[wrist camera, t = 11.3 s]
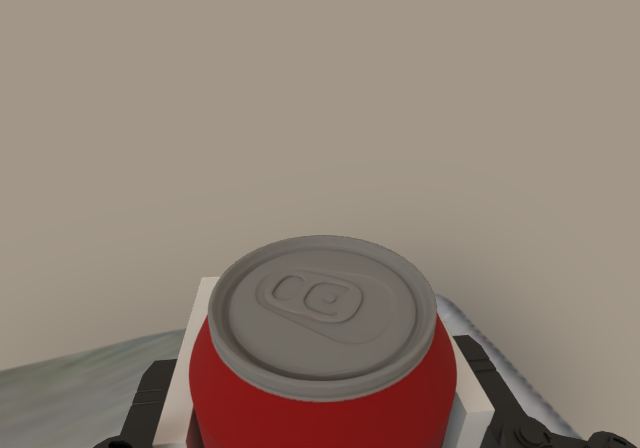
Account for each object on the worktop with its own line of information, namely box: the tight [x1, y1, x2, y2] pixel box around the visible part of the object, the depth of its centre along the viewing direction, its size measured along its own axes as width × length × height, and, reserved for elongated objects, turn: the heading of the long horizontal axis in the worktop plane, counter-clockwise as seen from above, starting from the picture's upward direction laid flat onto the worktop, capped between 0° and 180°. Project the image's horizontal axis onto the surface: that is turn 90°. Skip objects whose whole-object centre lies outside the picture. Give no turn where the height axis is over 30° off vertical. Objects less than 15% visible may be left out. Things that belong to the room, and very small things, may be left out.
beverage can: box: [189, 235, 457, 448], centre depth 11 cm, size 7×7×12 cm
